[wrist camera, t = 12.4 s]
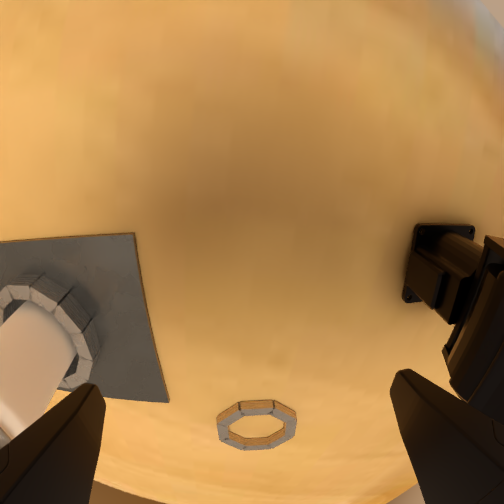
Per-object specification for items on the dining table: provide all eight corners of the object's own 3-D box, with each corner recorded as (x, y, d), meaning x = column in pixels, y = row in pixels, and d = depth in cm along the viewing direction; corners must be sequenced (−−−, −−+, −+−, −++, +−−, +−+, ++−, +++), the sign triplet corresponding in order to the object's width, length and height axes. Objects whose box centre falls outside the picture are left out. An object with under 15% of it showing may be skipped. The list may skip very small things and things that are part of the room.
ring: (297, 397, 26) (299, 405, 25) (291, 439, 28) (292, 446, 27) (214, 402, 25) (214, 410, 24) (221, 443, 28) (221, 450, 27)
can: (50, 363, 23) (-2, 456, 11) (11, 308, 20) (-62, 392, 9) (94, 348, 22) (39, 462, 11) (50, 285, 20) (-38, 385, 9)
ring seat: (134, 232, 19) (122, 244, 17) (169, 399, 25) (166, 419, 23) (-29, 244, 18) (-45, 253, 16) (23, 379, 24) (14, 392, 22)
